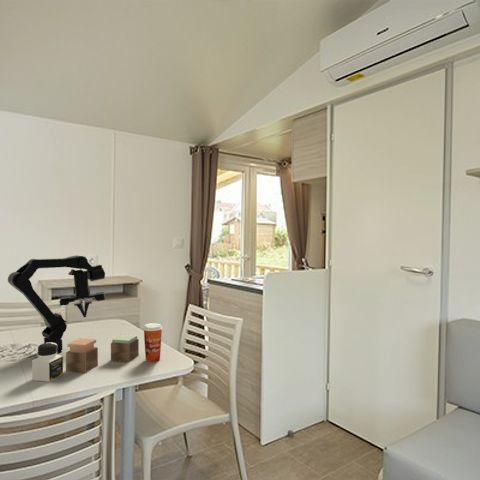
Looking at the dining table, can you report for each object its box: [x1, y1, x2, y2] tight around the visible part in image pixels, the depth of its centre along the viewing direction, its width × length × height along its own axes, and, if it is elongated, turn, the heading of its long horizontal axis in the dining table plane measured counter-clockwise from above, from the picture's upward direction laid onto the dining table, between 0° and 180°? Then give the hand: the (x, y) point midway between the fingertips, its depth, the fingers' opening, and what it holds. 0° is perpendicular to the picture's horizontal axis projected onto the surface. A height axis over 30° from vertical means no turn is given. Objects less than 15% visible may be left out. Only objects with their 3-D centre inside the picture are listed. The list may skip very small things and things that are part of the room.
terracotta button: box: [67, 337, 97, 353], centre depth 144 cm, size 7×7×7 cm
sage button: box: [111, 334, 138, 344], centre depth 155 cm, size 7×7×7 cm
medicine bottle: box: [31, 342, 64, 383], centre depth 135 cm, size 7×7×12 cm
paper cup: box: [142, 322, 163, 363], centre depth 154 cm, size 8×8×14 cm
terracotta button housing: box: [65, 346, 99, 374], centre depth 144 cm, size 8×8×7 cm
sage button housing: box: [110, 338, 140, 363], centre depth 156 cm, size 8×8×7 cm
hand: (85, 317), depth 173 cm, fingers closed
